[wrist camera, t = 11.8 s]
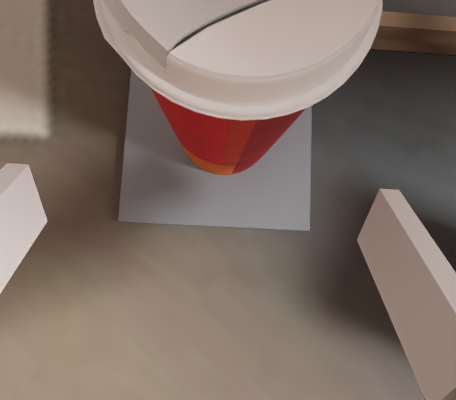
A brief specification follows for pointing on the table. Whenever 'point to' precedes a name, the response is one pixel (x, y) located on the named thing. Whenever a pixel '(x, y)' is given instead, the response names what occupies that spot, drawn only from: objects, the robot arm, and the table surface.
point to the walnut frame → (416, 33)
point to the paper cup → (238, 65)
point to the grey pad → (210, 176)
